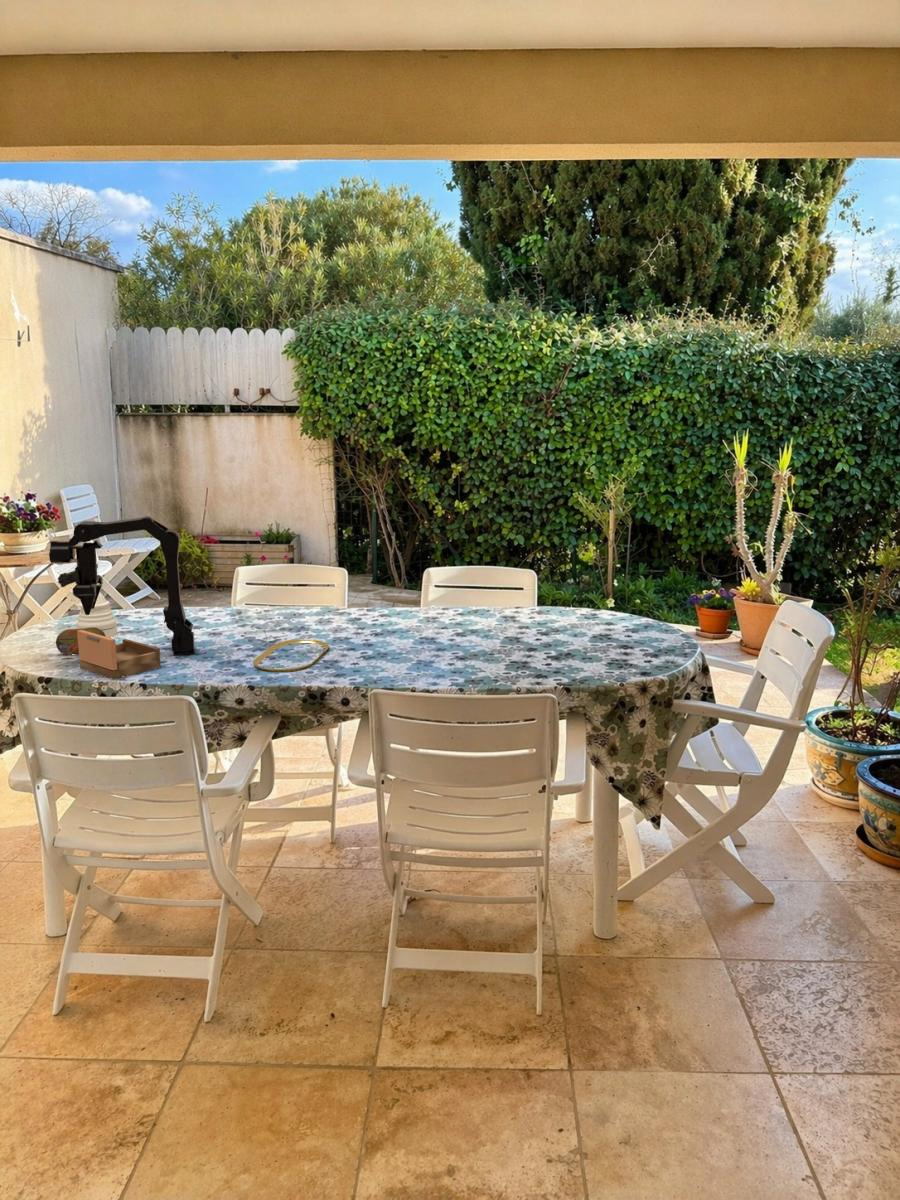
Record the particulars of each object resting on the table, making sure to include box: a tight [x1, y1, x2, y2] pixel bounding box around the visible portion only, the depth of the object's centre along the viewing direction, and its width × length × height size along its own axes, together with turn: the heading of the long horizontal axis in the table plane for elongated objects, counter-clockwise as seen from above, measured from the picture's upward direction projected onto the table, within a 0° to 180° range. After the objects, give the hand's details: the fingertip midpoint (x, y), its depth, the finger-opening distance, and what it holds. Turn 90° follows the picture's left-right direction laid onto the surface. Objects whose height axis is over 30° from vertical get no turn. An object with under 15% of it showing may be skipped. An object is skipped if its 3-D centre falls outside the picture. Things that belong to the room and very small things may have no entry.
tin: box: [55, 627, 106, 656], centre depth 293 cm, size 15×3×8 cm, turn 105°
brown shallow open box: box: [79, 638, 162, 680], centre depth 278 cm, size 16×18×6 cm
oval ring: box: [252, 638, 330, 673], centre depth 291 cm, size 19×35×2 cm, turn 172°
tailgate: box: [77, 630, 117, 670], centre depth 271 cm, size 2×18×9 cm, turn 51°
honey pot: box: [76, 591, 118, 638], centre depth 314 cm, size 13×13×18 cm
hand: (89, 611), depth 287 cm, fingers open, 9 cm apart
